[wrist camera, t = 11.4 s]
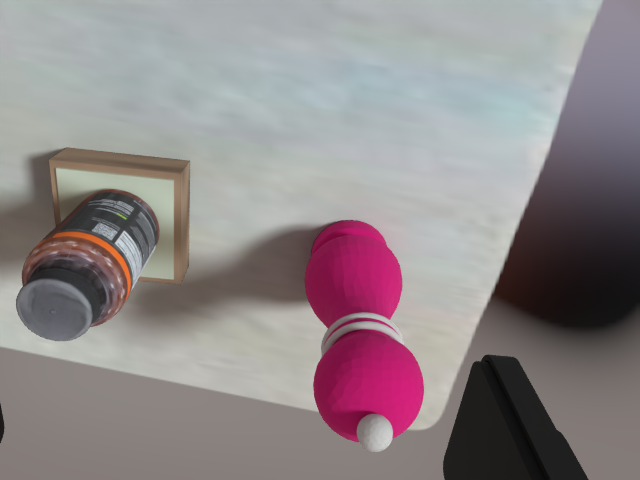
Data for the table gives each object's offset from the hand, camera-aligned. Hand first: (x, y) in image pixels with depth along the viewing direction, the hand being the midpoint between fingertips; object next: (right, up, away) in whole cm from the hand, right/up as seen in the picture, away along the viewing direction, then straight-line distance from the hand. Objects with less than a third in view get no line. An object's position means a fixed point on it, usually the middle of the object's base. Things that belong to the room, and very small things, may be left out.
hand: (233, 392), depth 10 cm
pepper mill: (+4, +2, +33) cm, 33 cm away
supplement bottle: (-13, +4, +28) cm, 31 cm away
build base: (-13, +5, +31) cm, 34 cm away
